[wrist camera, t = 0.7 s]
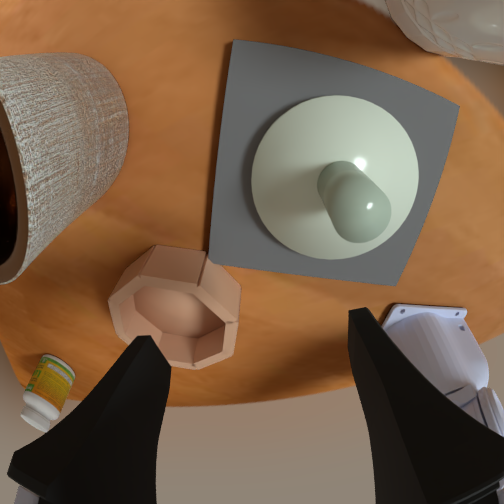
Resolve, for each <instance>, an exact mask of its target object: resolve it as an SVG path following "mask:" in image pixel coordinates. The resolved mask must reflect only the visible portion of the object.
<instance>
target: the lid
mask: <svg viewBox="0 0 504 504" xmlns="http://www.w3.org/2000/svg"><path fill="white" fill-rule="evenodd" d="M418 179H419V170H418V161H417V157H416V153H415V150H414V147H413V144H412V142H411V140H410V138H409V136H408V134H407V133H406V131H405V130H404V128H403V127H402V126H401V124H400V123H399V122H398V121H397V120H396V119H395V118H394V117H393V116H392V115H391V114H389V113H388V112H387V111H385V110H384V109H383V108H381V107H379V106H377V105H375V104H373V103H371V102H369V101H366V100H363V99H360V98H355V97H351V96H343V95H327V96H320V97H315V98H311V99H308V100H306V101H303V102H300V103H298V104H297V105H295V106H293V107H291V108H289V109H288V110H287V111H285V112H284V113H283V114H282V115H280V116H279V117H278V118H277V119H276V120H275V121H274V122H273V123H272V124H271V126H270V127H269V128H268V130H267V131H266V132H265V134H264V136H263V137H262V139H261V141H260V143H259V145H258V148H257V150H256V153H255V157H254V161H253V166H252V178H251V185H252V194H253V199H254V204H255V206H256V209H257V212H258V214H259V216H260V218H261V220H262V222H263V223H264V225H265V226H266V228H267V229H268V230H269V231H270V233H271V234H272V235H273V236H274V237H275V238H276V239H277V240H279V241H280V242H281V243H282V244H284V245H285V246H287V247H288V248H290V249H292V250H294V251H296V252H298V253H300V254H303V255H306V256H309V257H313V258H318V259H328V260H333V259H345V258H350V257H354V256H358V255H361V254H363V253H366V252H368V251H370V250H372V249H374V248H376V247H378V246H379V245H381V244H382V243H383V242H385V241H386V240H387V239H388V238H390V237H391V236H392V235H393V234H394V233H395V232H396V231H397V230H398V229H399V227H400V226H401V225H402V223H403V222H404V221H405V219H406V218H407V216H408V214H409V212H410V210H411V208H412V206H413V203H414V200H415V197H416V193H417V188H418Z"/></svg>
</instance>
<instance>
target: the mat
mask: <svg viewBox="0 0 504 504" xmlns="http://www.w3.org/2000/svg"><path fill="white" fill-rule="evenodd" d="M327 95H343V96H351V97H355V98H360V99H363V100H366V101H369V102H371V103H373V104H375V105H377V106H379V107H381V108H383V109H384V110H385V111H387V112H388V113H389V114H391V115H392V116H393V117H394V118H395V119H396V120H397V121H398V122H399V123H400V124H401V126H402V127H403V128H404V130H405V131H406V133H407V134H408V136H409V138H410V140H411V142H412V144H413V147H414V150H415V153H416V157H417V161H418V170H419V179H418V188H417V193H416V197H415V200H414V203H413V206H412V208H411V210H410V212H409V214H408V216H407V218H406V219H405V221H404V222H403V223H402V225H401V226H400V227H399V229H398V230H397V231H396V232H395V233H394V234H393V235H392V236H391V237H390V238H388V239H387V240H386V241H385V242H383V243H382V244H381V245H379V246H378V247H376V248H374V249H372V250H370V251H368V252H366V253H363V254H361V255H358V256H354V257H350V258H345V259H333V260H328V259H318V258H313V257H309V256H306V255H303V254H300V253H298V252H296V251H294V250H292V249H290V248H288V247H287V246H285V245H284V244H282V243H281V242H280V241H279V240H277V239H276V238H275V237H274V236H273V235H272V234H271V233H270V231H269V230H268V229H267V228H266V226H265V225H264V223H263V222H262V220H261V218H260V216H259V214H258V212H257V209H256V206H255V204H254V199H253V194H252V185H251V178H252V166H253V161H254V157H255V153H256V150H257V148H258V145H259V143H260V141H261V139H262V137H263V136H264V134H265V132H266V131H267V130H268V128H269V127H270V126H271V124H272V123H273V122H274V121H275V120H276V119H277V118H278V117H279V116H280V115H282V114H283V113H284V112H285V111H287V110H288V109H289V108H291V107H293V106H295V105H297V104H298V103H300V102H303V101H306V100H308V99H311V98H315V97H320V96H327ZM459 108H460V106H459V105H457V104H455V103H453V102H451V101H449V100H447V99H445V98H443V97H441V96H439V95H437V94H435V93H433V92H430V91H428V90H426V89H424V88H422V87H419V86H417V85H415V84H412V83H410V82H407V81H405V80H402V79H400V78H397V77H395V76H392V75H389V74H387V73H384V72H381V71H378V70H375V69H372V68H369V67H366V66H363V65H360V64H357V63H354V62H350V61H347V60H343V59H340V58H336V57H332V56H328V55H324V54H320V53H316V52H311V51H307V50H302V49H297V48H292V47H286V46H281V45H275V44H268V43H261V42H253V41H244V40H234V39H233V46H232V52H231V58H230V65H229V71H228V78H227V85H226V92H225V100H224V107H223V115H222V123H221V131H220V139H219V148H218V157H217V166H216V176H215V186H214V196H213V207H212V218H211V230H210V242H209V255H208V259H209V260H210V261H211V262H212V263H213V264H219V265H226V266H234V267H241V268H249V269H256V270H264V271H272V272H280V273H287V274H295V275H303V276H312V277H320V278H328V279H336V280H345V281H353V282H362V283H371V284H380V285H389V286H396V284H397V282H398V280H399V278H400V276H401V274H402V272H403V270H404V268H405V266H406V264H407V261H408V259H409V257H410V255H411V253H412V250H413V248H414V246H415V243H416V241H417V239H418V236H419V234H420V232H421V229H422V227H423V224H424V222H425V219H426V217H427V214H428V211H429V209H430V206H431V203H432V201H433V198H434V195H435V192H436V189H437V187H438V184H439V181H440V178H441V175H442V171H443V168H444V165H445V162H446V158H447V155H448V152H449V148H450V144H451V141H452V137H453V133H454V129H455V125H456V121H457V117H458V112H459Z"/></svg>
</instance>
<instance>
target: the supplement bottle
mask: <svg viewBox="0 0 504 504" xmlns="http://www.w3.org/2000/svg"><path fill="white" fill-rule="evenodd" d="M74 379H75V374H74V372H73V370H72V369H71V368H70V366H69V365H67V364H66V363H65V362H64V361H62V360H61V359H59V358H57V357H55V356H53V355H49V354H46V355H43V357H42V358H41V360H40V362H39V364H38V366H37V368H36V370H35V371H34V373H33V375H32V377H31V379H30V381H29V383H28V385H27V387H26V389H25V392H24V394H23V399H24V401H25V403H26V406H24V407H23V410H22V412H21V414H20V415H21V417H22V418H23V419H24V420H25V421H26V422H28V423H29V424H30V425H32V426H34V427H35V428H37V429H39V430H41V431H43V432H48V429H49V427H50V422H49V421H50V420H56V419H57V418H58V417H59V415H60V413H61V410H62V408H63V405H64V403H65V400H66V398H67V396H68V393H69V391H70V389H71V386H72V384H73V382H74Z"/></svg>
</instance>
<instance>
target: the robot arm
mask: <svg viewBox="0 0 504 504" xmlns="http://www.w3.org/2000/svg"><path fill="white" fill-rule="evenodd" d="M466 314H467V310H466V308H453V307H436V306H421V305H407V304H396V305H394V306H393V307H392V308H391V310H390V312H389V314H388V316H387V317H386V319H385V321H384V322H383V324H382V326H380V324H379V323H378V322H377V320H376V319H375V317H374V316H373V315H372V313H371V312H370V310H369V309H368V308H366V307H364V308H359V309H354V310H349V320H348V352H349V357H350V363H351V368H352V373H353V377H354V380H355V383H356V387H357V390H358V394H359V397H360V401H361V404H362V408H363V411H364V415H365V419H366V422H367V427H368V431H369V437H370V444H371V451H372V459H373V469H374V480H375V495H376V504H504V488H503V487H504V410H503V407H502V405H501V403H500V401H499V399H498V397H497V395H496V393H495V392H494V390H493V389H491V388H486V387H487V384H488V379H489V369H488V364H487V361H486V358H485V356H484V354H483V353H482V351H481V349H480V347H479V345H478V343H477V341H476V340H475V338H474V336H473V334H472V332H471V331H470V329H469V327H468V326H467V324H466V322H465V321H464V317H465V316H466ZM170 378H171V366H170V364H169V363H168V361H167V360H166V358H165V357H164V355H163V354H162V352H161V351H160V349H159V348H158V346H157V345H156V343H155V341H154V340H153V338H152V337H151V335H141V336H137V337H136V338H135V339H134V340H133V341H132V342H131V343H130V345H129V346H128V347H127V348H126V349H125V351H124V352H123V353H122V354H121V356H120V357H119V358H118V359H117V361H116V362H115V363H114V364H113V366H112V367H111V368H110V369H109V371H108V372H107V373H106V374H105V376H104V377H103V378H102V379H101V380H100V382H99V383H98V384H97V385H96V386H95V387H94V389H93V390H92V391H91V392H90V393H89V394H88V395H87V397H86V398H85V399H84V400H83V401H82V402H81V403H80V404H79V405H78V406H77V407H76V408H75V409H74V410H73V411H72V412H71V413H70V414H69V415H68V416H66V417H65V418H64V419H63V420H62V421H60V422H59V423H58V424H57V425H56V426H54V427H53V428H52V429H51V430H49V431H48V432H47V433H45V434H44V435H43V436H41V437H40V438H38V439H36V440H35V441H33V442H32V443H30V444H28V445H26V446H24V447H23V448H21V449H19V450H17V451H15V452H14V454H13V457H12V460H11V463H10V466H9V469H8V472H7V475H8V476H9V477H10V478H11V479H13V480H14V481H15V482H17V483H18V484H20V485H22V486H23V487H22V486H19V487H18V491H17V495H16V498H15V502H14V504H157V503H156V458H157V445H158V440H159V434H160V430H161V425H162V421H163V416H164V412H165V407H166V403H167V398H168V394H169V388H170ZM24 487H25V488H24Z"/></svg>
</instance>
